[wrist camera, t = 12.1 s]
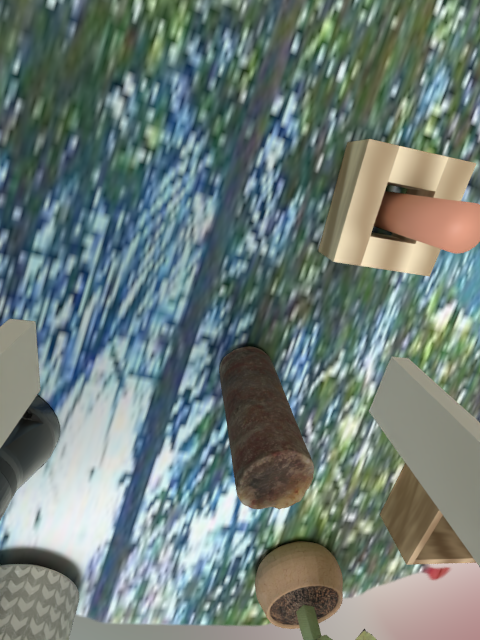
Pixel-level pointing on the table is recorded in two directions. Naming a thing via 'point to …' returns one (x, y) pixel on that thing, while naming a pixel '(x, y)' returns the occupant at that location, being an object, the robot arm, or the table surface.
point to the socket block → (366, 196)
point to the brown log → (262, 433)
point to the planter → (36, 603)
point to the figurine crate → (420, 525)
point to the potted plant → (301, 588)
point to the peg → (431, 220)
